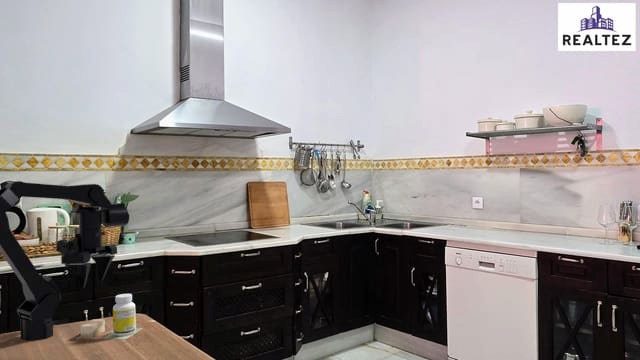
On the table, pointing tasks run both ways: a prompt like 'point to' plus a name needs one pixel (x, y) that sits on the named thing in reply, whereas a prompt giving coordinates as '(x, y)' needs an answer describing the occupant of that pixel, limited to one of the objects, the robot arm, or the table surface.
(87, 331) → the beech block
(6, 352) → the table surface
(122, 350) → the table surface
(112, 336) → the sorting board
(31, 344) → the table surface
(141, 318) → the table surface
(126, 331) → the supplement bottle
